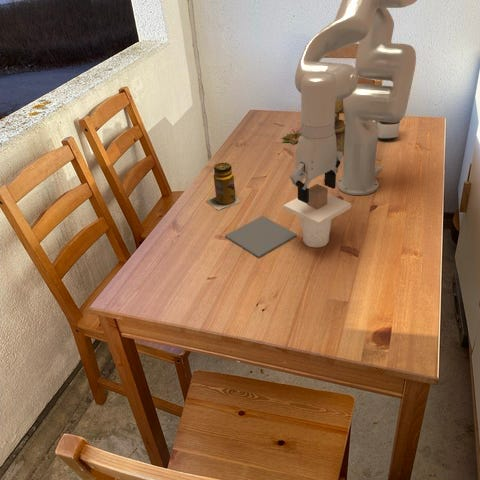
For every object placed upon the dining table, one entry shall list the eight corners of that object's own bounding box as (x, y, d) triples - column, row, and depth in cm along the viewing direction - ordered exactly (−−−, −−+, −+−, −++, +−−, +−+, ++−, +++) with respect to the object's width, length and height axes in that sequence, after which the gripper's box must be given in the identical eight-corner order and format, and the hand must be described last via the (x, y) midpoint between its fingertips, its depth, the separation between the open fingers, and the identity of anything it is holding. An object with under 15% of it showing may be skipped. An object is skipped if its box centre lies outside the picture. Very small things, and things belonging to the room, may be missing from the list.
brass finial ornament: (347, 141, 177) (349, 93, 167) (347, 156, 166) (350, 106, 156) (323, 141, 179) (324, 94, 169) (321, 156, 168) (322, 106, 158)
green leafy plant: (277, 145, 180) (276, 134, 178) (284, 133, 189) (284, 122, 187) (308, 147, 177) (308, 135, 174) (314, 135, 186) (314, 123, 183)
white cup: (333, 234, 128) (334, 202, 122) (327, 251, 122) (329, 218, 116) (304, 230, 130) (304, 199, 125) (298, 247, 124) (297, 214, 119)
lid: (315, 192, 127) (315, 173, 124) (350, 207, 119) (352, 187, 116) (283, 209, 121) (283, 189, 118) (318, 226, 113) (318, 206, 110)
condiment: (241, 201, 146) (238, 166, 140) (218, 210, 143) (213, 175, 136) (228, 192, 152) (225, 158, 145) (206, 201, 148) (201, 166, 141)
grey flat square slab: (262, 217, 138) (262, 215, 137) (297, 236, 128) (297, 234, 128) (225, 237, 131) (224, 235, 130) (258, 258, 121) (258, 256, 121)
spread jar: (400, 142, 173) (403, 111, 166) (368, 144, 174) (371, 113, 167) (391, 130, 183) (395, 100, 176) (362, 132, 183) (364, 102, 177)
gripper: (330, 114, 115) (328, 177, 125) (279, 136, 107) (281, 201, 116) (355, 121, 110) (351, 186, 120) (303, 145, 102) (303, 212, 111)
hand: (316, 193), depth 118 cm, fingers open, 9 cm apart
